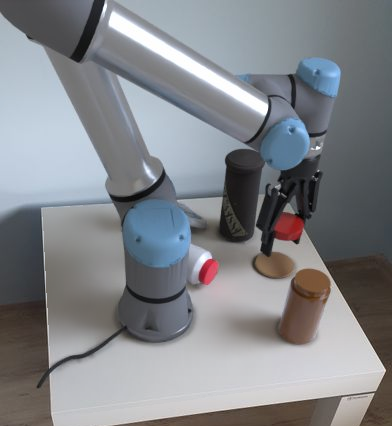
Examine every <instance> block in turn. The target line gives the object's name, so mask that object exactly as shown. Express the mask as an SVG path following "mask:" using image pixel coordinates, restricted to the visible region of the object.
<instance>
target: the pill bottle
mask: <svg viewBox="0 0 392 426" xmlns="http://www.w3.org/2000/svg"><path fill="white" fill-rule="evenodd" d="M219 266H220V264H219V262H218V261H217V260H215V259H213V255H212V253H211V251H209V250H207V249H204V248H203V247H200V245H199V246H198V245H196V244H194V243H192V242H190V246H189V256H188V269H187V281H186V282H187V283H190V284H192V285H193V286H194V285H199V284H203V285H205V286H208V285H210V284H211V283H212V282H213V281H214V279H215V278H216V276H217V273H218V271H219Z"/></svg>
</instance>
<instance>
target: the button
mask: <svg viewBox="0 0 392 426" xmlns="http://www.w3.org/2000/svg"><path fill="white" fill-rule="evenodd" d="M177 203H178V207H179V208H181V209H182V210H183V211H184V213H185V214H186V216H187V218H188V220H189V223H190V228H191V227H192V228H198V229H202V230H203V229H207V228H208V225H209V222H208V221H207V220H206V219H205V218H203V217H202V216H200V214H198V213H197V212H196V211H194V210H193V209H192V208H190V206H188V204H187V205H186V204H185V203H183V202H181V201H178V200H177Z"/></svg>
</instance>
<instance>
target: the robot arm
mask: <svg viewBox="0 0 392 426" xmlns="http://www.w3.org/2000/svg"><path fill="white" fill-rule="evenodd" d="M0 14H1V15H2V17H3V18H4V19H5V20H6V21H8V22H9V23H10V24H11V25H12V26H13V27H14V28H16V29H17V30H18V31H20V32H21V33H23V34H24V35H25V36H26V39H27V40H28V41H29V42H31V43H35V44H37V45H39V46H41V47H42V48H43V49H44V51H45V53H46V55H47V57H48V59H49V61H50V63H51V66H52V67H53V70H54V72H55V73H56V75H57V77H58V79H59V81H60V83H61V85H62V87H63V89H64V92H65V93H66V96H67V97H68V99H69V102H70V103H71V105H72V107H73V109H74V112H75V113H76V115H77V117H78V119H79V120H80V123H81V125H82V127H83V128H84V130H85V133H86V135H87V137H88V139H89V141H90V143H91V145H92V146H93V149H94V151H95V153H96V154H97V156H98V158H99V160H100V162H101V165H102V166H103V168H104V170H105V172H106V174H107V176H106V179H105V183H104V188H105V190H106V192H107V195H108V196H109V198H110V200H111V202H112V204H113V206H114V207H115V210H116V212H117V214H118V216H119V222H120V230H121V237H122V245H123V255H124V256H123V257H124V275H125V276H124V277H125V278H124V279H125V286H124V289H123V291H122V294H121V296H120V298H119V301H118V303H117V321H118V323H119V325H120V327H121V328H120V329H118V330H117V331H116V332H115V333H113V334H112V335H111V336H109V337H107V338H106V339H105V340H103V342H101V343H99V344H98V345H96V346H95V347H94V348H92V349H90V350H89V351H87V352H84V353H80V354H73V355H69V356H66V357H64V358H63V359H61V360H59V361H57V362H56V363H54V364H53V365H51V366H50V367H49V368H48V369H47V370H46V371H45V373H44V374H43V375H42V377H41V378H40V380H39V381H38V383H37V385H36V389H41V387H42V386H43V384H44V383H45V381H46V379H47V378H48V377H49V376H50V374H51V373H52V372H53V371H55V370H56V369H57V368H58V367H60V366H62V365H64V364H65V363H68V362H69V361H71V360H76V359H82V358H87V357H89V356H90V355H93V354H95V353H96V352H98V351H99V350H101V349H102V348H104V347H105V346H106V345H107V344H109V343H111V341H113V340H115V338H117V337H118V336H119V335H121V334H122V333H124V332H125V333H127V334H128V335H130V336H131V337H133V338H135V339H137V340H139V341H144V342H149V343H163V342H169V341H172V340H174V339H177V338H179V337H181V336H183V335H184V334H185V333H186V332H187V331H188V330H189V329H190V327H191V326H192V324H193V319H194V318H193V317H194V306H193V301H192V299H191V298H192V297H191V295H190V291H189V289H188V287H187V282H188V281H187V269H188V256H189V246H190V243H192V242H191V240H192V231H191V226H190V223H189V220H188V218H187V216H186V214H185V213H184V211H183V210H182V209H181V208H179V207H178V203H177V201H178V199H177V193H176V188H175V185H174V183H173V181H172V179H171V178H170V176H169V175H168V174H167V172H166V169H165V167H164V165H163V162H162V161H161V159H159V158H158V157H156V156H154V155H151V154H150V152H149V148H148V147H147V145H146V143H145V139H144V138H143V135H142V132H141V130H140V128H139V125H138V123H137V120H136V119H135V116H134V113H133V111H132V109H131V107H130V104H129V102H128V99H127V97H126V95H125V92H124V89H123V87H122V85H121V82H120V80H119V77H121V78H122V79H124V80H126V81H128V82H130V83H132V84H134V85H135V86H137V87H139V88H141V89H142V90H144V91H146V92H148V93H150V94H152V95H154V96H155V97H157V98H159V99H161V100H163V101H164V102H166V103H168V104H170V105H172V106H174V107H176V108H178V109H179V110H181V111H183V112H185V113H186V114H189V115H190V116H192V117H194V118H196V119H198V120H199V121H201V122H203V123H205V124H207V125H208V126H211V127H213V128H215V130H217V131H220V132H222V133H223V134H226V135H228V136H229V137H231V138H233V139H235V140H237V141H239V142H240V143H242V144H244V145H245V146H248V147H249V148H251V149H252V150H255V151H257V152H259V153H260V155H261V157H262V159H263V160H264V161H265V164H266V165H267V166H268V167H270V168H271V169H273V170H276V171H279V172H280V174H279V176H278V178H277V179H276V182H274V183H273V184H271V183H267V184H266V185H265V188H264V189H265V191H264V196H263V199H262V204H261V206H260V210H259V213H258V216H257V218H256V219H257V220H256V221H255V227H256V228H257V229H258V230H260V232H261V236H260V242H261V243H260V250H259V251H260V252H261V254H262V253H263V254H265V255H266V256H267V257H270V256H271V252H273V247H274V242H275V233H276V231H275V230H274V228H275V226H276V224H277V222H278V220H279V218H280V216H281V214H282V212H284V210H285V208H286V207H287V204H290V203H291V201H292V200H293V197H295V202H296V211H297V212H296V213H293V214H294V215H296V216H298V217H299V218H300V219H301V220H302V221H303V223H304V227H305V225H306V222H307V220H310V219H312V216H313V215H312V214H313V213H315V212H316V210H317V206H318V205H317V204H318V198H319V192H320V191H319V189H320V184H321V180H322V178H323V176H324V172H323V171H322V170H320V169H318V168H319V164H320V160H321V155H322V154H321V153H322V151H323V148H324V143H325V139H326V136H327V132H328V128H329V125H330V120H331V117H332V113H333V110H334V106H335V102H336V99H337V97H338V91H339V87H340V82H341V74H342V73H341V69H340V67H339V66H338V64H337V63H335V62H334V61H332V60H329V59H326V58H323V57H309V58H304V59H301V60H300V61H299V63H298V64H297V68H296V69H295V73H288V74H271V73H270V74H265V73H259V74H258V73H249V72H248V73H245V74H234V73H232V72H230V71H229V70H227V69H226V68H224V67H223V66H221V65H219V64H217V63H216V62H214V61H212V60H211V59H209V58H208V57H206V56H204V55H203V54H201V53H200V52H198V51H197V50H195V49H194V48H192V47H190V46H188V45H187V44H185V43H183V42H182V41H180V40H179V39H178V38H175V37H174V36H172V35H171V34H169V33H168V32H166V31H164V30H162V29H161V28H159V27H158V26H157V25H154V24H153V23H151V22H149V21H148V20H146V19H145V18H144V17H142V16H140V15H139V14H137V13H135V12H133V10H131V9H129V8H127V7H125V6H124V5H122V4H121V3H120V2H117V1H116V0H0ZM311 213H312V214H311ZM301 237H302V235H301V236H300V237H299V238H298V239H296V240H292V241H291V242H292V243H294V244H295V245H296V246H297V245H299V244H300V241H301Z"/></svg>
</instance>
